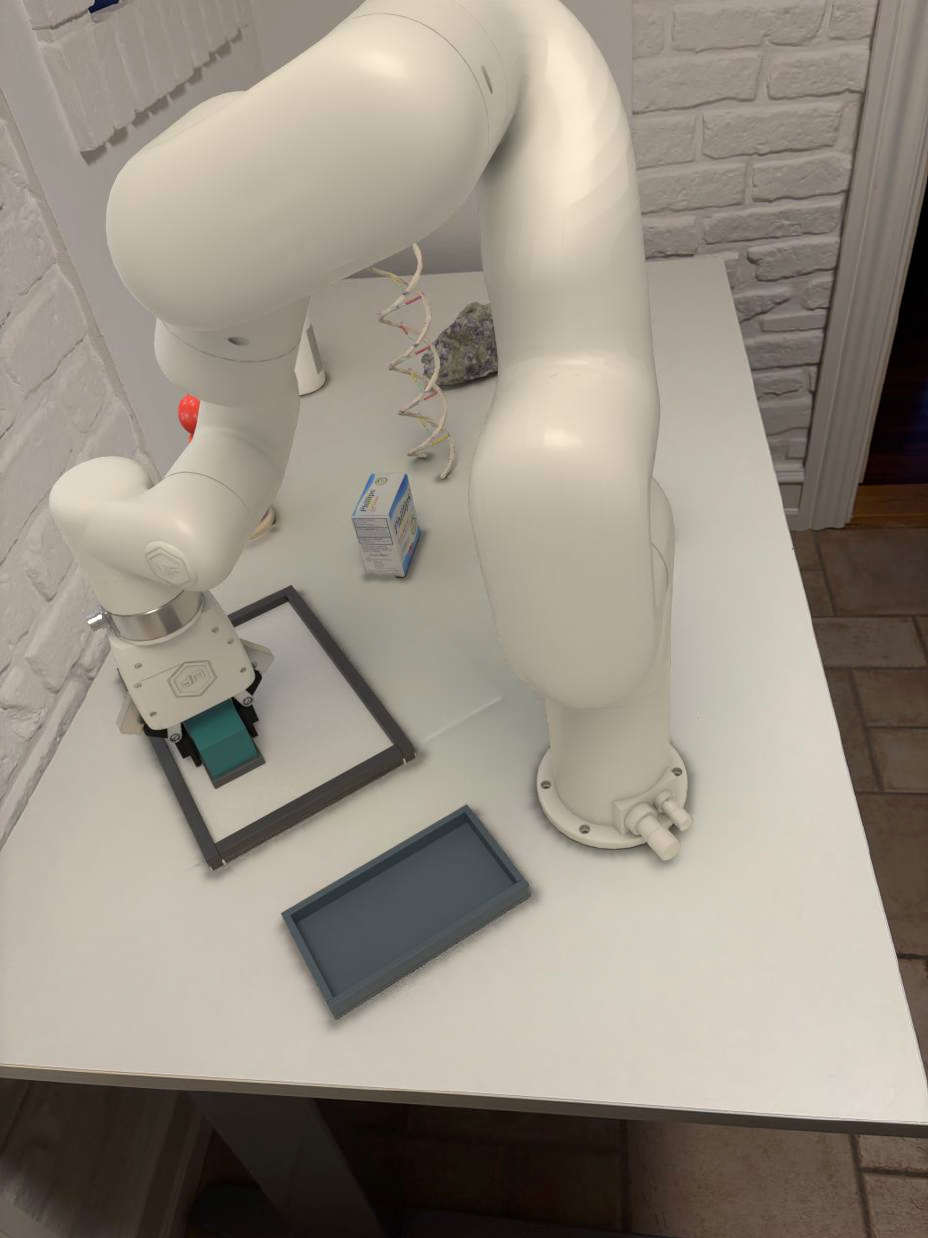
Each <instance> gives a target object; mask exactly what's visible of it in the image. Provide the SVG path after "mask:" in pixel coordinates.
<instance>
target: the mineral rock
mask: <svg viewBox="0 0 928 1238" xmlns="http://www.w3.org/2000/svg"><path fill="white" fill-rule="evenodd" d="M433 342H436V344H435V348H436V351H437V354H438V357H439V359H440V369H439V373H438V377H437V380H436V382H435V384H436V385H437V386H443V385H444V386H449V385H458V384H460V383H462V384H464V383H466V382H468V381H470V380H471V381H473V380H475V379H479V378H482V377H485V376H487V375H489V374H493V373H498V354H497V345H496V338H495V331H494V325H493V318H492V312H491V306H490V302H488V303H486V304H481V303H479V302H477V301H473V302H470V303H468V304H466V306H465V307H464V308H463V309H462V310H461V311H459V313H458V315H457V317H456V318H455V319H454V321H453V322H452V323H451V324H450V325H449V326H448V327H446V328H445V329H443V331H442V332H440V333H439V335H437V338H436V339H435V340H434V341H433ZM420 362H421V364H422V365H423V374H422V375H424V376H425V377H427V378H428V379H431V378H432V376H433V374H434V369H435V360H434V354H433V352H432V351H431V349H430V348H429V349H427V350H426V351H425V352H424V353H423V355H422V356H421V357H420Z"/></svg>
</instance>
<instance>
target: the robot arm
mask: <svg viewBox="0 0 928 1238" xmlns="http://www.w3.org/2000/svg"><path fill="white" fill-rule="evenodd" d="M629 125H630V124H629V120H628V116H627V113H626V109H625V106H624V102H623V100H622V97H621V94H620V90H619V88H618V85H617V83H616V80H615V78H614V76H613V73H612V70H611V69H610V66H609V65H608V63H607V61H606V59H605V57H604V55H603V53H602V51H601V50H600V48H599V46H598V45H597V43H596V42H595V40H594V38H593V37H592V36H591V34H590V33H589V31H588V30H587V29H586V27H585V26H584V24H582V22H581V21H580V20H579V19H578V18H577V17H576V15H575V14H574V13H573V12H572V11H571V10H570V9H569V8H568V7H567V6H566V5H565V4H564V3H563V2H561V0H365V1H363V3H361V5H359V6H358V7H357V9H355V10H354V11H352V12H351V14H349V15H348V16H347V17H346V18H345V19H343V20H342V21H341V22H340V23H339V24H338V25H336V26H335V27H334V28H333V29H332V30H331V31H329V33H327V34H326V35H325V36H324V37H322V38H321V39H320V40H318V41H317V42H316V43H314V44H313V45H311V46H310V47H309V48H307V49H305V50H304V51H302V52H301V53H300V54H298V55H297V56H296V57H295V58H293V59H291V60H290V61H289V62H287V63H286V64H285V65H283V66H281V67H280V68H279V69H276V70H275V71H273V72H272V73H270V74H269V75H268V76H266V77H265V78H263V79H261V80H260V81H258V82H257V83H256V84H255V85H252V87H250V88H248V89H247V90H236V91H228V92H225V93H221V94H219V95H215V96H213V97H210V98H209V99H207V100H204V101H203V102H200V103H199V104H198V105H196V106H195V107H192V108H191V109H190V110H189V111H188V112H186V113H185V114H184V115H182V116H181V117H180V118H179V119H178V120H177V121H176V120H175V122H174V123H173V124H172V125H169V127H168V128H166V129H165V130H164V131H162V132H161V133H160V134H159V135H158V136H156V137H155V138H153V139H152V140H151V141H150V142H148V143H147V144H146V145H144V146H143V147H142V148H141V149H140V150H138V152H137V153H135V154H134V155H133V156H131V157H130V158H129V159H128V160H127V161H126V163H125V165H123V167H122V168H121V170H120V171H119V172H118V174H117V175H116V178H115V180H114V182H113V184H112V186H111V189H110V192H109V195H108V200H107V205H106V214H105V233H106V240H107V247H108V250H109V253H110V256H111V261H112V264H113V266H114V268H115V271H116V273H117V274H118V276H119V278H120V280H121V282H122V284H123V285H124V286H125V288H126V289H127V290H128V292H129V293H130V295H131V296H132V297H133V298H134V299H135V300H136V302H138V303H139V304H140V305H141V306H142V307H143V308H144V309H145V310H146V311H147V312H148V313H150V314H151V315H152V316H154V317H155V320H156V321H155V328H154V337H153V338H154V339H153V348H154V356H155V358H156V361H157V363H158V366H159V368H160V370H161V371H162V373H163V374H164V376H165V377H166V378H167V379H168V380H169V381H170V382H171V383H172V384H173V385H174V386H175V387H177V388H178V389H180V391H182V392H184V393H186V395H187V394H189V395H191V396H193V397H195V398H197V399H199V400H200V407H199V413H198V420H197V425H196V429H195V433H194V436H193V438H192V441H191V442H190V443H189V442H188V444H187V446H186V447H185V448H184V449H183V451H182V452H181V453H180V455H178V457H177V459H176V460H175V462H174V463H173V464H172V465H171V467H170V468H169V469H168V471H167V473H166V474H165V475H164V477H163V478H162V480H161V481H159V482H158V483H157V484H154V481H153V480H152V478H151V476H150V474H149V473H148V470H146V468H145V467H144V466H143V465H142V464H140V463H139V462H137V461H135V460H134V459H132V458H129V457H126V456H120V455H119V456H117V455H106V456H100V457H99V456H98V457H95V458H92V459H88V460H86V461H82V462H81V463H78V464H76V465H75V466H73V467H71V468H70V469H68V470H67V471H65V473H63V474H62V475H60V477H59V478H58V479H57V480H56V481H55V483H54V484H53V485H52V487H51V490H50V493H49V497H48V506H49V512H50V514H51V516H52V518H53V520H54V522H55V525H56V526H57V528H58V530H59V532H60V533H61V535H62V538H63V540H64V541H65V543H66V545H67V547H68V548H69V550H70V552H71V553H72V555H73V557H74V559H75V561H76V563H77V565H78V566H79V568H80V569H81V572H82V574H83V575H84V577H85V579H86V581H87V583H88V586H89V587H90V589H91V590H92V593H93V594H94V596H95V598H96V600H97V601H98V603H99V604H98V605H96V607H97V609H96V610H94V611H93V613H91V614H89V615H87V616H85V619H86V621H87V623H88V625H89V626H90V629H91V630H92V631H93V632H96V631H98V630H100V629H102V630H104V629H106V632H107V638H108V641H109V645H110V649H111V654H112V657H113V659H114V661H115V664H116V668H118V669H119V672H120V674H121V676H122V679H123V681H124V683H125V685H126V687H127V689H128V692H127V691H126V695H125V696H124V700H123V702H122V705H121V708H120V711H119V713H118V716H117V719H116V725H117V728H118V730H119V733H120V734H121V735H136V736H137V735H145V736H147V737H148V736H151V737H158V738H166V739H168V740H169V741H170V742H171V743H175V745H176V747H177V749H178V751H179V752H180V754H181V756H182V758H183V759H185V758H187V757H188V756H191V758H192V760H193V762H194V764H195V766H196V767H198V766H200V765H201V763H202V762H201V760H200V756H199V754H198V752H197V750H196V748H195V746H194V744H193V742H192V740H191V738H190V736H189V734H188V732H187V730H186V728H185V726H184V724H183V723H182V721H185V720H187V719H189V718H191V717H193V716H195V715H197V714H199V713H201V712H203V711H205V710H207V709H209V708H211V707H213V706H215V705H217V704H219V703H221V702H223V701H225V700H227V699H229V698H231V700H232V702H233V704H234V707H235V709H236V711H237V713H238V715H239V716H240V718H241V720H242V722H243V724H244V725H245V727H246V729H247V731H248V733H250V734H251V736H252V737H253V738H254V737H256V736H258V734H257V731H256V729H255V727H254V725H253V723H255V722H257V721H259V719H258V716H257V714H256V712H255V709H254V707H253V705H252V703H253V702H254V698H253V694H254V693H255V691H256V689H257V687H258V686H259V684H260V682H261V680H262V675H263V673H265V672H266V670H267V669H268V668H269V666H270V665H271V663H272V662H273V660H274V656H273V654H272V653H271V651H270V650H269V648H267V647H264V646H261V645H258V644H256V643H253V642H250V641H247V640H244V639H241V638H239V637H238V635H237V633H236V631H235V629H234V627H233V625H232V623H231V621H230V620H229V618H228V616H227V615H228V614H227V612H226V611H225V609H224V608H223V606H222V605H221V603H220V602H219V601H218V599H217V598H216V597H215V596H214V595H213V593H212V592H211V591H210V590H213V589H215V588H217V587H218V586H220V585H221V584H222V583H223V582H224V581H225V580H227V578H228V577H229V575H230V574H232V571H233V570H234V568H235V567H236V565H237V563H238V561H239V559H240V558H241V556H242V554H243V553H244V551H245V550H246V548H247V547H248V545H249V543H250V541H251V540H250V539H251V537H252V535H253V533H254V532H255V530H256V528H257V526H258V525H259V523H260V521H261V520H262V518H263V516H264V515H265V513H266V511H267V510H268V508H269V507H270V506H271V505H272V503H274V500H275V499H276V497H277V495H278V493H279V491H280V489H281V486H282V484H283V480H284V478H285V475H286V472H287V467H288V464H289V459H290V455H291V451H292V447H293V443H294V438H295V435H296V430H297V427H298V426H297V425H298V420H299V416H300V415H299V413H300V405H301V400H300V399H301V398H300V396H301V395H299V389H298V381H297V377H296V374H295V372H294V370H295V365H296V360H297V355H298V350H299V345H300V341H301V336H302V331H303V326H304V322H305V317H306V312H307V309H308V307H309V302H310V298H311V295H313V294H315V293H317V292H319V291H321V290H323V289H325V288H327V287H329V286H332V285H334V284H336V283H338V282H340V281H341V280H344V279H346V278H348V277H350V276H352V275H354V274H357V273H359V272H360V271H363V270H364V269H367V267H369V266H371V265H375V264H377V263H379V262H381V261H383V260H385V259H388V258H389V257H392V256H394V255H395V254H397V253H400V252H402V251H404V250H406V249H407V248H409V247H412V245H413V244H415V243H418V242H420V241H421V240H423V239H424V238H426V237H428V236H429V235H430V234H432V233H433V232H435V231H436V230H437V229H439V228H441V226H443V225H444V224H445V223H446V222H447V221H448V220H449V219H450V218H451V217H452V216H453V215H454V214H455V213H457V211H458V210H459V209H460V208H461V207H462V206H463V204H464V203H465V202H466V201H467V199H468V197H469V196H470V195H471V193H472V192H473V190H474V193H475V196H476V203H477V212H478V223H479V224H478V227H479V244H480V246H479V247H480V258H481V266H482V274H483V281H484V284H485V289H486V293H487V298H488V301H489V303H490V306H491V312H492V318H493V325H494V331H495V338H496V345H497V354H498V371H497V378H496V384H495V388H494V392H493V395H492V400H491V402H490V406H489V408H488V411H487V414H486V416H485V419H484V421H483V424H482V427H481V430H480V433H479V435H478V438H477V441H476V444H475V447H474V449H473V453H472V456H471V461H470V462H471V463H470V467H469V473H468V488H467V489H468V492H467V496H468V497H467V498H468V501H467V502H468V515H469V520H470V525H471V530H472V536H473V540H474V545H475V549H476V553H477V557H478V561H479V565H480V570H481V574H482V578H483V582H484V586H485V587H484V588H485V591H486V596H487V600H488V605H489V608H490V613H491V616H492V621H493V625H494V629H495V633H496V637H497V641H498V643H499V646H500V649H501V651H502V654H503V656H504V658H505V661H506V662H507V663H508V665H509V666H510V668H511V670H512V671H513V672H514V673H515V675H516V676H517V678H519V679H520V680H521V681H522V682H523V683H524V685H526V686H527V687H528V688H530V689H531V690H532V691H534V692H535V693H536V694H538V695H539V696H541V697H543V698H544V707H545V717H546V724H547V730H548V739H549V746H550V747H549V748H548V749H547V751H546V752H545V754H544V755H543V757H542V759H541V761H540V763H539V766H538V769H537V775H536V791H537V797H538V801H539V804H540V807H541V809H542V811H543V813H544V815H545V816H546V818H547V819H548V821H549V822H550V823H551V825H553V826H554V827H555V828H556V829H557V830H558V831H559V832H560V833H562V834H563V835H565V836H566V837H568V838H569V839H570V840H572V841H573V840H574V841H576V842H578V843H580V844H583V845H585V846H590V847H593V848H598V849H609V850H617V849H629V848H633V847H636V846H640V845H644V844H647V845H648V846H649V848H651V849H652V851H654V852H655V854H656V855H657V856H658V857H659V858H660V859H661V860H662V861H664V862H665V861H666V862H667V861H669V860H671V859H673V858H674V857H675V856H676V855H677V854H678V853H679V852H680V851H681V848H682V843H681V841H680V840H679V839H678V838H677V837H676V836H675V835H674V834H673V833H672V832H671V831H670V830H669V829H670V828H671V827H672V826H673V825H675V827H677V829H678V830H679V831H680V832H684V831H687V830H688V829H689V828H690V827H691V826H692V825H693V824H694V818H693V817H692V815H690V814H689V812H687V810H686V809H685V805H686V802H687V798H688V789H689V786H688V785H689V784H688V783H689V782H688V773H687V768H686V766H685V762H684V761H683V759H682V757H681V755H680V753H679V751H677V749H676V748H675V747H674V746H673V745H672V744H671V742H670V719H671V717H670V716H671V715H670V713H671V712H670V711H671V710H670V709H671V708H670V707H671V706H670V705H671V663H672V617H673V616H672V615H673V590H674V573H675V572H674V571H675V556H676V555H675V553H676V527H675V526H676V525H675V519H674V514H673V510H672V506H671V504H670V501H669V498H668V496H667V494H666V493H665V491H664V489H663V488H662V486H661V485H660V483H659V482H658V481H657V480H656V478H654V476H653V474H654V468H655V462H656V456H657V455H656V454H657V448H658V440H659V435H660V434H659V433H660V423H661V422H660V420H661V398H660V391H659V384H658V378H657V369H656V362H655V353H654V343H653V328H652V316H651V302H650V289H649V275H648V268H647V259H646V252H645V243H644V232H643V221H642V211H641V210H642V209H641V198H640V188H639V179H638V178H639V177H638V170H637V163H636V155H635V149H634V145H633V139H632V134H631V130H630V126H629ZM250 660H251V661H250ZM242 669H243V670H242ZM122 679H121V680H122ZM140 714H141V715H140Z"/></svg>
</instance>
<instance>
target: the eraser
mask: <svg viewBox="0 0 928 1238" xmlns="http://www.w3.org/2000/svg"><path fill="white" fill-rule="evenodd" d="M182 723H183V724H184V726H185V728H186V730H187V732H188V734H189V736H190V738H191V740H192V742H193V744H194V746H195V748H196V750H197V752H198V754H199V756H200V760H201V762H202V764H203V766H204V768H205V770H206V772H207V774H208V776H209V778H210V780H211V782H212V784H213V786H214V788H215V789H217V788H219V787H221V786H223V785H225V784H227V783H229V782H231V781H233V780H235V779H236V778H238V777H240V776H242V775H244V774H246V773H248V772H250V771H252V770H254V769H256V768H257V767H259V766H261V765H263V764H265V760H264V758H263V756H262V754H261V752H260V750H259V749H258V747H257V745H256V743H255V742H254V740H253V738H252V736H251V734H250V733H248V731H247V729H246V727H245V725H244V724H243V722H242V720H241V718H240V716H239V715H238V713H237V711H236V709H235V707H234V704H233V702H232V701H231V699H230V698H229V699H227V700H225V701H223V702H221V703H219V704H217V705H215V706H213V707H211V708H209V709H207V710H205V711H203V712H201V713H199V714H197V715H195V716H193V717H191V718H189V719H187V720H185V721H182Z"/></svg>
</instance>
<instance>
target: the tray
mask: <svg viewBox="0 0 928 1238" xmlns="http://www.w3.org/2000/svg"><path fill="white" fill-rule="evenodd" d="M529 898H531V892H530V887H529V882H528V881H527V879H525V878H524V876H523V875H522V874H521V872H520V871H519V869H518V868H517V867H516V866H515V864H514V863H513V862H512V860H511V859H510V858H509V857H508V855H507V854H506V852H505V851H504V850H503V849H502V847H501V846H500V845H499V843H498V842H497V841H496V839H494V837H493V836H492V834H491V833H490V832H489V830H488V828H486V826H485V825H484V824H483V823H482V821H481V820H480V819H479V817H478V816H477V815H476V814H475V812H474V811H473V810H472V808H471V807H470V806H469V804H464V805H462V806H461V807H459V808H458V809H456V810H454V811H453V812H451V813H449V814H448V815H445V816H444V817H443V818H441V819H439V820H437V821H436V822H433V823H432V824H430V825H429V826H427V827H425V828H424V829H422V830H420V831H418V832H416V833H415V834H413V835H411V836H410V837H408V838H407V839H405V840H403V841H402V842H400V843H398V844H396V845H395V846H393V847H391V848H390V849H388V850H386V851H384V852H382V853H381V854H379V855H377V856H375V857H374V858H372V859H371V860H369V861H368V862H365V863H364V864H362V865H360V866H359V867H357V868H356V869H354V870H352V871H350V872H349V873H347V874H345V875H344V876H341V877H340V878H338V879H337V880H335V881H333V882H331V883H330V884H328V885H326V886H325V887H323V888H321V889H319V890H318V891H316V892H314V893H313V894H311V895H309V896H308V897H306V898H304V899H302V900H301V901H299V902H297V903H295V904H294V905H292V906H290V907H289V908H287V909H286V910H283V911H282V912H281V913H280V915H281V917H282V919H283V921H284V923H285V924H286V926H287V929H288V931H289V933H290V935H291V936H292V938H293V940H294V942H295V944H296V946H297V949H298V950H299V952H300V954H301V957H302V958H303V960H304V962H305V964H306V965H307V968H308V969H309V972H310V973H311V975H312V978H313V979H314V982H315V983H316V985H317V987H318V989H319V991H320V994H321V995H322V997H323V999H324V1001H325V1003H326V1005H327V1007H328V1009H329V1010H330V1012H331V1014H332V1016H333V1018H334V1020H335V1021H337V1020H338V1019H340V1018H342V1017H343V1016H345V1015H346V1014H348V1013H350V1012H351V1011H352V1010H354V1009H356V1008H357V1007H359V1006H361V1005H362V1004H364V1003H365V1002H367V1001H369V1000H370V999H371V998H373V997H375V996H376V995H378V994H379V993H381V992H383V991H384V990H386V989H387V988H389V987H390V986H392V985H394V984H395V983H397V982H398V981H401V980H402V979H403V978H405V977H406V976H408V975H410V974H411V973H412V972H414V971H415V970H417V969H419V968H421V967H422V966H423V965H425V964H426V963H429V962H430V961H431V960H433V959H435V958H436V957H437V956H440V955H441V954H442V953H444V952H446V951H447V950H449V949H450V948H452V947H454V946H455V945H457V944H458V943H460V942H462V941H463V940H465V939H466V938H468V937H470V936H471V935H473V934H474V933H475V932H477V931H478V930H481V929H482V928H483V927H485V926H487V925H488V924H490V923H492V922H493V921H495V920H497V919H498V918H499V917H501V916H502V915H504V914H505V913H507V912H509V911H510V910H512V909H513V908H515V907H517V906H518V905H520V904H521V903H523V902H525V901H526V900H527V899H529Z"/></svg>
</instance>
